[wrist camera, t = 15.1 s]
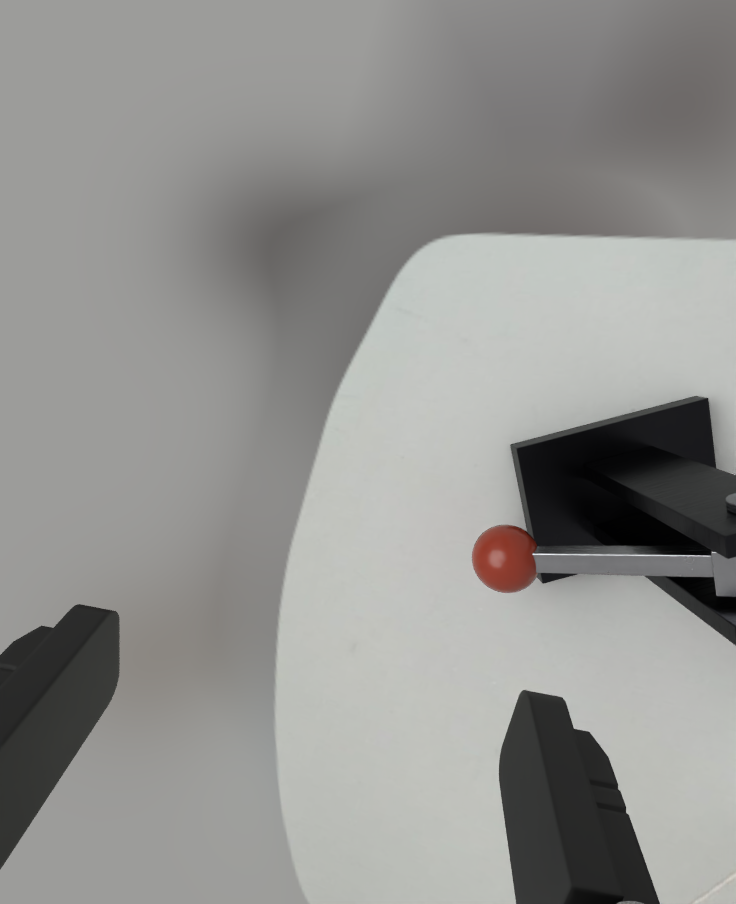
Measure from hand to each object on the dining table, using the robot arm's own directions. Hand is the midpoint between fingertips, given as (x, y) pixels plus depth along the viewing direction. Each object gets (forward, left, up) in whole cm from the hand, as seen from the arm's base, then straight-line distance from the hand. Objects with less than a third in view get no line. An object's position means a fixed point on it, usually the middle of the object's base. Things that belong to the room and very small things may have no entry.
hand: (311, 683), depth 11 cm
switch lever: (+5, +15, -17) cm, 23 cm away
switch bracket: (+4, +18, -24) cm, 30 cm away
